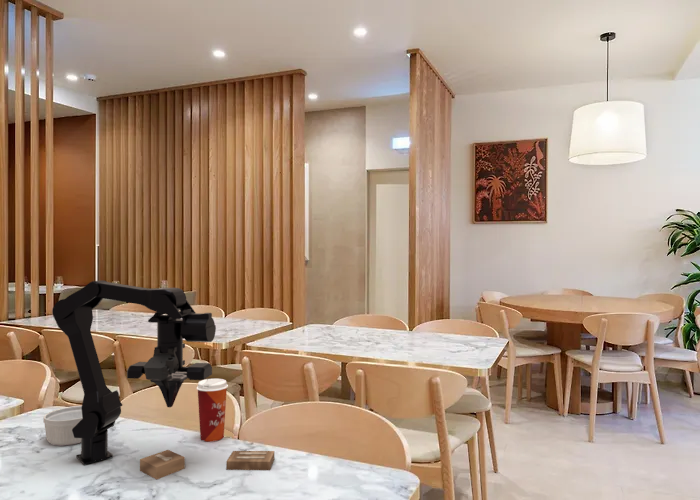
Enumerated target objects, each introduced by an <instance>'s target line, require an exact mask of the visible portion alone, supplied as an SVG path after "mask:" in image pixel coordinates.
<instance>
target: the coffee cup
mask: <svg viewBox="0 0 700 500" xmlns="http://www.w3.org/2000/svg"><path fill="white" fill-rule="evenodd" d="M228 387H229V385H228V383H227V380H226V379H223V378H206V379H204V380H199V381H198V383H197V386H196V390H197V398H198V399H197V400H198V402H197V403H198V404H197V405H198V416H199V417H198V419H199V420H198V421H199V435H200V440H201V441H202V442H205V443H206V442H207V443H209V442H211V443H213V442H217V441H221V440H222V439H223V438H224V436H225V424H226V421H225V420H226V406H227V388H228Z"/></svg>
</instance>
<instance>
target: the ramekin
mask: <svg viewBox="0 0 700 500" xmlns="http://www.w3.org/2000/svg"><path fill="white" fill-rule="evenodd" d="M81 407H82V405H73V406H67V407H63V408H59V409H55V410H52V411H49V412H47V413H46V414H44V416H43V423H44V430H45V436H46V437H45V438H46V440H47V442H49V444H50V445H53V446H71V445H77V444H81V438H74V435H73V432H72V429H73V428H74V427H75V426H76V425H77V424H78V423H79V422H80V421H81V420H82V419H83V418H82V409H81Z"/></svg>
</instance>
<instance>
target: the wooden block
mask: <svg viewBox="0 0 700 500" xmlns="http://www.w3.org/2000/svg"><path fill="white" fill-rule="evenodd" d="M274 462H275V450H232V452H231V454H230V455H229V457H228V458H227V459H226V461H225V465H226V468H225V470H226V471H270V470H271V468H272V465H273V463H274Z"/></svg>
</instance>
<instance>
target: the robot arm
mask: <svg viewBox="0 0 700 500" xmlns="http://www.w3.org/2000/svg"><path fill="white" fill-rule="evenodd" d="M103 299H104V300H110V301H118V302H124V303H128V304H136V305H140V306H143V307H146V308H147V309H148V310H151V311H153V312H154V314H153V315H152V316H150V318H149V319H148V320H147V323H156V324H157V325H156V326H157V328H156V330H157V332H156V334H157V335H156V341H157V343H156V346H155V347H154V350H153V355H152V357H150V358H149V359H148V360H147V361H138V362H135V363H133V364H131V365H129V366H128V368H127V370H126V379H140V378H141V377H142V376H143V375H145V379H146V380H149V381H150V382H151V383H154V384H155V385H156V386H158V388H159V390H160V392H161V395H162V398H163V399H164V402H165V404H166V407H167V408H172V407H173V406H174V403H175V401H176V399H177V396H178V393H179V391H180V389H181V387H182V385H183V384H184V382H185V380H187V379H188V380H190V381H202V380H206V379H208V378H209V377H210V376H212V375H213V367H212V365H211V363H210V362H195V363H193V364H192V365H190V366H185V365H186V359H184V360H183V358H184V357H183V353H184V351H183V350H184V349H185V348H186V343H184V340H185V341H186V342H192V343H211V342H213V341H214V339H215V336H216V330H217V328H216V325H215V320H214V318H213V317H212V316H213V313H212V312H202V313H201V312H200V313H197V312H196V311H195V310H194V308H193V307H192V305H191V304H190V303H189V301H188V300H187V296H186V293H185V292H184V290H183V289H182V288H179V287H160V288H158V287H157V288H148V287H147V288H146V287H140V286H135V285H129V284H121V283H115V282H111V281H110V282H109V281H107V280H105V279H104V280H92V281H90V282H88V283H87V284H85V286H83V287H82V288H80V289H79V290H77V291H75V292H73V293H71V294H70V295H68V296H67V297H66V298H63V299H59V300H58V301H56V303H54V306H53V307H52V311H51V313H52V317H53V318H54V321H55V323H56V325H57V327H58V328H59V329H60V331H62V333H64V335H66V336H67V338H68V341H69V345H70V348H71V353H72V355H73V359H74V363H75V366H76V369H77V372H78V376H79V379H80V383H81V387H82V390H83V400H82V404H81V406H82V407H81V409H82V418H83V419H82V420H81V421H80V422H79V423H78V424H77V425H76V426H75V427H74V428H73V429H72V432H73V435H74V438H81V443H80V448H81V449H80V451H81V452H80V453H79V454H76V455H75V456H76V457H75V458H76V459H77V460H78V461H79V462H80V463H81V464H82V465H84V466H85V465H90V464H94V463H96V462H97V463H98V462H101V461H104V460H107V459H111V458H113V457H114V456H113V454H112V453H111V452H110V451H109V450H108V449H109V448H108V447H109V446H108V441H109V439H108V438H109V437H108V436H109V435H108V434H109V432H108V431H109V429H110V428H113V427H114V426H115V423H116V421H117V420H118V419H119V417H120V415H121V414H122V406H123V403H122V402H121V400H120V395H119V391H118V390H114V391H111V389H110V388H109V387H108V386H107V384H106V380H105V377H104V373H103V371H102V367H101V363H100V359H99V357H98V352H97V349H96V346H95V342H94V339H93V335H92V331H91V328H92V324H93V319H94V316H93V309H95V308H96V307H97V306H99V304H100V303H101V302H102V301H103ZM183 339H184V340H183Z"/></svg>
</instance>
